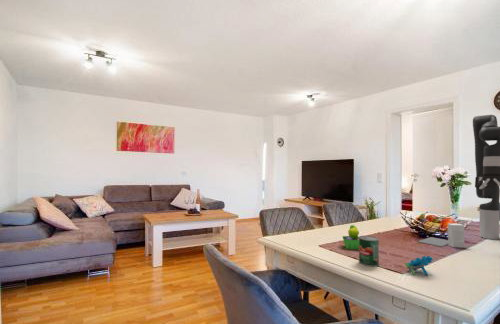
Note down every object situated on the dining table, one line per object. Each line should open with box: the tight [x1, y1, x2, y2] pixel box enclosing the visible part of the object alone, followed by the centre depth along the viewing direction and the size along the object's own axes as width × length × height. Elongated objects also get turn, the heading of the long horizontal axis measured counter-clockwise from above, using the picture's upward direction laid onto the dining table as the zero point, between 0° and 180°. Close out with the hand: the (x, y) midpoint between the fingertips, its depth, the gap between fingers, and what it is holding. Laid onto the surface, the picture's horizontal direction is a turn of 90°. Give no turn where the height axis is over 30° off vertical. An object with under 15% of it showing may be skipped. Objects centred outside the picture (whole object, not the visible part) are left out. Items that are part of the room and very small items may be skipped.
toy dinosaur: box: [404, 255, 434, 276], centre depth 108 cm, size 11×6×10 cm
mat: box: [417, 236, 449, 248], centre depth 156 cm, size 18×12×1 cm, turn 125°
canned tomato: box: [358, 235, 380, 267], centre depth 119 cm, size 8×8×11 cm
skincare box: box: [447, 223, 466, 249], centre depth 148 cm, size 6×4×12 cm
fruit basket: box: [341, 224, 360, 251], centre depth 143 cm, size 11×9×11 cm
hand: (493, 197), depth 140 cm, fingers open, 8 cm apart
